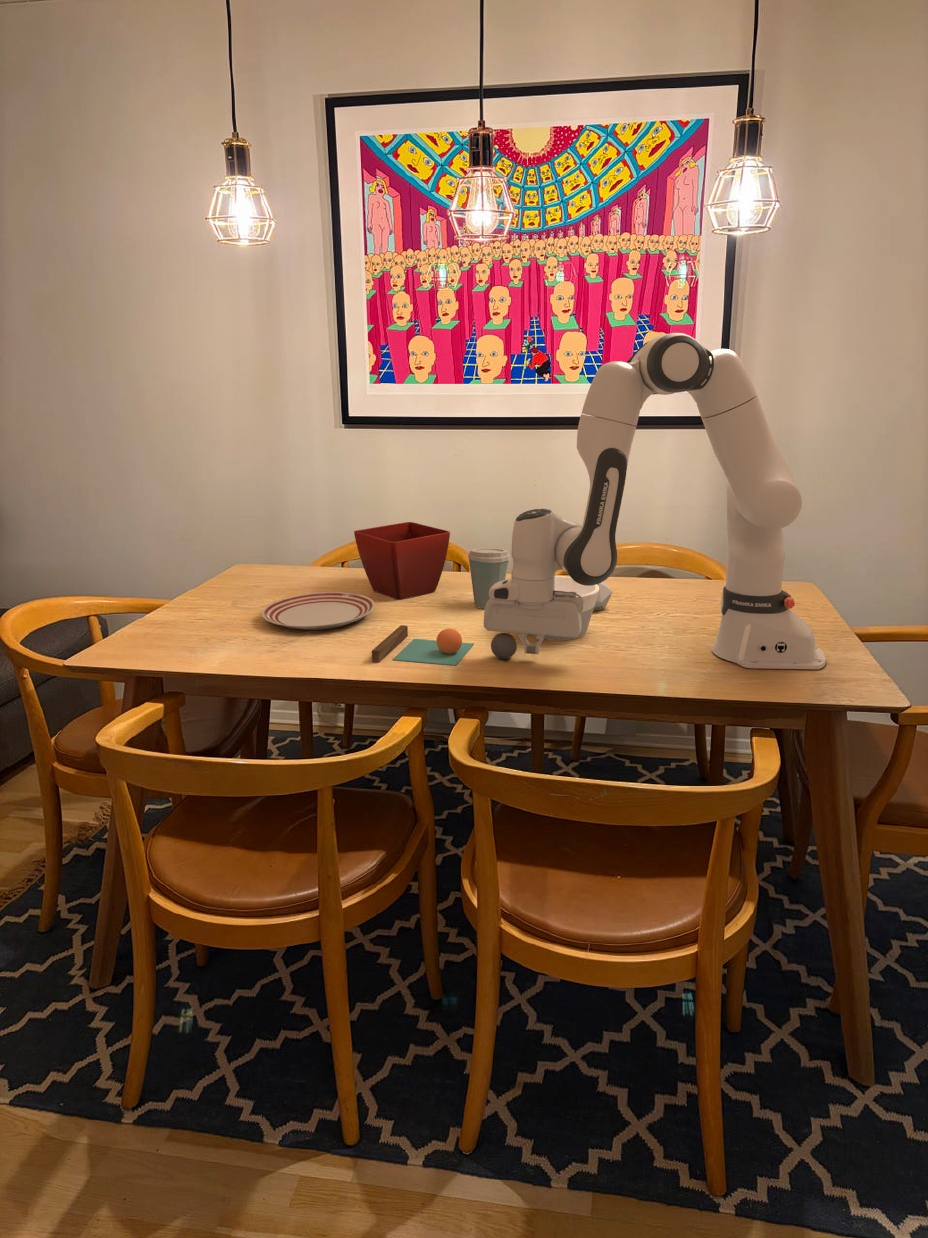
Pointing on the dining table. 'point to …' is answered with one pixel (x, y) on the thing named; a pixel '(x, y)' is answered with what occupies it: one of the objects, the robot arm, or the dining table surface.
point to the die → (602, 596)
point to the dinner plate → (318, 610)
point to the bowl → (584, 591)
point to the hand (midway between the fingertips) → (531, 653)
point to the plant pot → (403, 558)
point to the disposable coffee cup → (486, 571)
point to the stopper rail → (389, 643)
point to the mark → (431, 653)
